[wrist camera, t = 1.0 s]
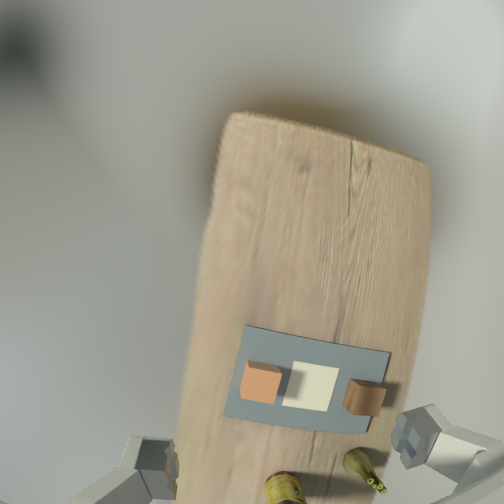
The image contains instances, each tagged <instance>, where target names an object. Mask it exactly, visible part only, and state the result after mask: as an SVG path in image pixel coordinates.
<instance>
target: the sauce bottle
mask: <svg viewBox="0 0 504 504" xmlns="http://www.w3.org/2000/svg"><path fill="white" fill-rule="evenodd" d="M265 491H266V496H267V502H268V504H307V502H306V500H305V497H304V495H303V492H302V490H301V487H300V484H299V482H298V480H297V479H296V478H295V476H294V475H292V474H291V473H288V472H278V473H275V474H273V475H272V476H270V477H269V478H268V479H267V481H266V486H265Z"/></svg>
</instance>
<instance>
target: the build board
mask: <svg viewBox="0 0 504 504" xmlns="http://www.w3.org/2000/svg"><path fill="white" fill-rule="evenodd" d="M389 354H390V353H389V352H384V351H377V350H371V349H365V348H359V347H353V346H347V345H342V344H336V343H331V342H325V341H320V340H315V339H310V338H305V337H300V336H295V335H290V334H285V333H280V332H276V331H271V330H266V329H262V328H258V327H253V326H249V325H245V329H244V333H243V337H242V341H241V345H240V349H239V353H238V357H237V362H236V366H235V370H234V374H233V378H232V382H231V386H230V390H229V394H228V398H227V402H226V406H225V410H224V415H223V416H227V417H232V418H236V419H242V420H247V421H252V422H258V423H264V424H270V425H276V426H283V427H290V428H298V429H306V430H315V431H325V432H336V433H350V434H365V432H366V429H367V427H368V424H369V421H370V418H371V416H361V415H351V414H350V413H349V412H348V411H347V410H346V409H345V408H344V407H343V406H342V403H343V400H344V396H345V393H346V390H347V386H348V383H349V379H356V380H364V381H373V382H376V383H378V384H379V385H381V383H382V379H383V376H384V372H385V369H386V365H387V361H388V358H389ZM247 360H249V361H254V362H259V363H264V364H268V365H273V366H277V367H278V368H279V370H280V371H281V373H282V376H281V380H280V383H279V387H278V391H277V394H276V398H275V402H274V404H269V403H264V402H258V401H253V400H248V399H243V398H241V394H240V386H241V382H242V378H243V374H244V370H245V366H246V362H247Z"/></svg>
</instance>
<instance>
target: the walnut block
mask: <svg viewBox="0 0 504 504" xmlns="http://www.w3.org/2000/svg"><path fill="white" fill-rule="evenodd" d="M386 390H387V389H386V388H384V387H383V386H381V385H379V384H378V383H376V382H373V381H364V380H356V379H349V383H348V386H347V390H346V393H345V396H344V400H343V403H342V406H343V407H344V408H345V409H346V410H347V411H348V412H349V413H350V414H351V415H361V416H376V417H378V415H379V412H380V409H381V406H382V403H383V400H384V397H385V394H386Z"/></svg>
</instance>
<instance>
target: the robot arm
mask: <svg viewBox="0 0 504 504" xmlns="http://www.w3.org/2000/svg"><path fill="white" fill-rule="evenodd" d="M396 422H397V425H396V426H395V427H394V429H393V431H392V434H391V442H392V445H393V447H394V449H395V451H397V452H400V453H401V456H400V459H401V461H402V463H403V464H404V466H405V468H406V469H409V468H413V467H416V466H419V465H422V464H425V465H427V466H429V467H430V468H432V469H434V470H435V471H437V472H439V473H441V474H442V475H444V476H446V477H448V478H449V479H451V480H453V481H455V482H457V483H458V485H457V486H456V488H455V489H454V491H453V493H452V494H451V495H449V496H447V497H445V498H443V499H440V500H438V501H436V502H434V503H431V504H504V444H503V443H502V441H500V440H496V439H494V438H491V437H488V436H484V435H482V434H479V433H476V432H473V431H470V430H467V429H464V428H461V427H459V426H454V427H453V426H452V424H451V423H450V422H449V421H448V420H447V418H446V417H445V416H444V415H443V414H442V413H441V411H440V410H439V409H438V408H437V407H436V406H435V405H434V404H429V405H426V406H423V407H420V408H416V409H413V410H410V411H406V412H402V413H399V414H398V416H397V418H396ZM174 448H175V445H174V441H173V439H168V438H155V437H141V436H132V435H131V436H130V437H129V438H128V441H127V445H126V447H125V451H124V454H123V457H122V460H121V463H120V467H115V468H113V469H112V470H111V471H109V472H108V473H106V474H105V475H104V476H102V477H101V478H99V479H98V480H96V481H95V482H94V483H92V484H91V485H89V486H88V487H86V488H85V489H83V490H82V491H80V492H79V493H77V494H76V495H74V496H73V497H72V498H71V499H70V502H69V504H149V503H150V502H151V501H152V499H166V500H176V493H177V484H176V480H175V479H177V478H178V476H179V460H178V455H177V453H176V452H174ZM0 504H8V503H6V502H4V501H1V500H0Z"/></svg>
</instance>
